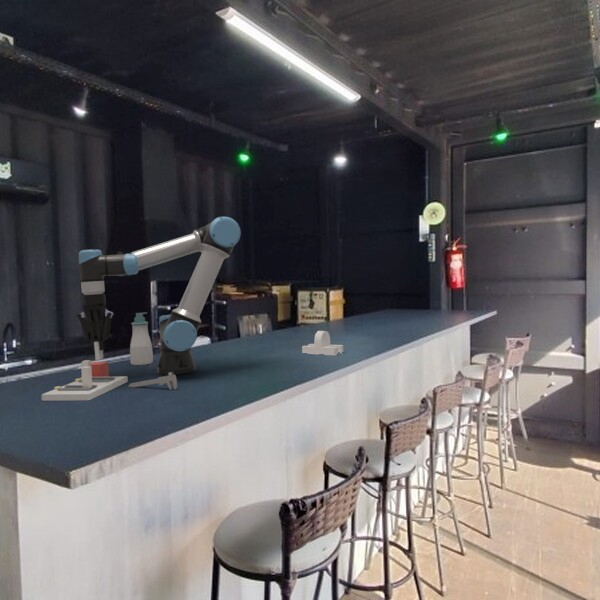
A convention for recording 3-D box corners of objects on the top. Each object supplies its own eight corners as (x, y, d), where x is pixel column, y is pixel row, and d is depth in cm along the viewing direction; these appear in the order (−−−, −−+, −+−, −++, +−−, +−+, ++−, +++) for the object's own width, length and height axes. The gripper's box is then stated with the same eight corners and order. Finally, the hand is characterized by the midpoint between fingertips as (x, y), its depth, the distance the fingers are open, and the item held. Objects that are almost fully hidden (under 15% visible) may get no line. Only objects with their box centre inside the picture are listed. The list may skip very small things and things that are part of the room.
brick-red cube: (108, 376, 185) (108, 361, 185) (101, 380, 179) (100, 364, 179) (95, 377, 186) (94, 361, 185) (86, 380, 180) (85, 364, 180)
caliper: (177, 390, 160) (176, 371, 160) (175, 390, 159) (174, 372, 159) (129, 386, 168) (128, 369, 167) (127, 387, 167) (126, 369, 166)
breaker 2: (92, 387, 157) (91, 366, 157) (88, 388, 155) (87, 367, 155) (86, 387, 158) (84, 366, 157) (82, 388, 155) (81, 367, 155)
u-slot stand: (335, 356, 216) (334, 332, 216) (301, 354, 225) (300, 331, 225) (344, 352, 225) (343, 330, 224) (311, 350, 234) (310, 329, 233)
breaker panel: (127, 381, 175) (127, 374, 175) (89, 400, 149) (88, 391, 149) (86, 382, 177) (86, 374, 177) (41, 400, 151) (41, 392, 151)
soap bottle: (158, 362, 213) (155, 312, 212) (140, 366, 205) (137, 314, 204) (143, 361, 219) (141, 312, 217) (125, 364, 210) (122, 314, 209)
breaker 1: (92, 379, 170) (90, 360, 170) (88, 380, 168) (87, 361, 168) (86, 379, 170) (85, 360, 170) (82, 380, 168) (81, 361, 168)
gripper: (116, 292, 170) (121, 356, 172) (82, 294, 172) (88, 358, 173) (105, 293, 163) (111, 360, 164) (70, 295, 164) (76, 362, 166)
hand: (99, 359), depth 169 cm, fingers closed
